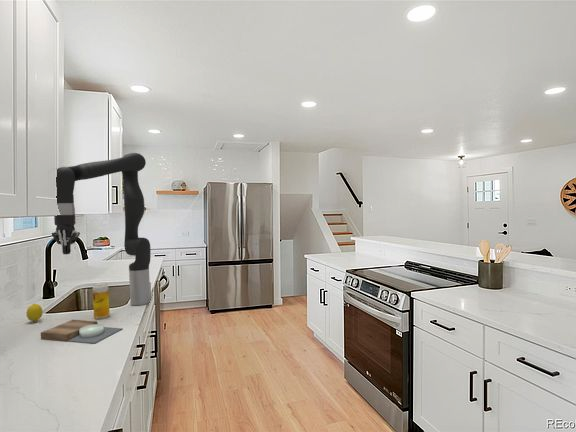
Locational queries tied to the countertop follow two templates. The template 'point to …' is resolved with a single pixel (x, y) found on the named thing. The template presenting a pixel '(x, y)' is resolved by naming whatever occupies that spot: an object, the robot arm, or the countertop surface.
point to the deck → (65, 330)
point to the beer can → (101, 300)
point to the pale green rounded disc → (91, 330)
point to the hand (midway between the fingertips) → (66, 254)
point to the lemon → (34, 312)
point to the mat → (107, 332)
